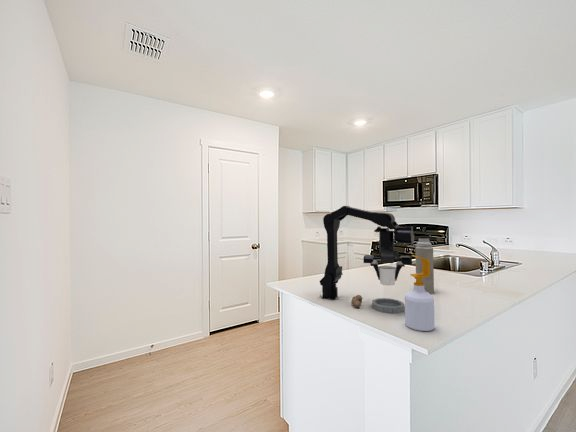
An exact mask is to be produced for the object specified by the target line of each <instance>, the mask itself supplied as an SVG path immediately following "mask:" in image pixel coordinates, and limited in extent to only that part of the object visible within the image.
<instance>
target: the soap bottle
mask: <svg viewBox="0 0 576 432" xmlns="http://www.w3.org/2000/svg"><path fill="white" fill-rule="evenodd" d="M411 257H414V258H416V257H417V258H420V259H421V260H422V273H420V274H416V273H410V276H411V277H413V278H414V279H415V281H414V282H413V289H411V290H409V291H408V292H407V293H406V294H405V295H404V312H405V313H404V315H405V325H406V326H407V327H408V328H410V329H412V330H415V331H420V332H430V331H434V330H435V327H436V326H435V299H434V296H433V294H429V293H428V292H426V291H425V290H424V283H422V279H423V277H429V276H430V261H429V260H428V259H425V258H422V257H418V256H416V254H415V255H414V254H411Z"/></svg>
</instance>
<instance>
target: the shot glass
mask: <svg viewBox="0 0 576 432" xmlns="http://www.w3.org/2000/svg"><path fill="white" fill-rule="evenodd" d="M378 268H379V276H380V280H379V283H380V285H383V286H394V285H395V282H396V281H395V271H396V266H392V265H390V266H389V265H380V266H378Z"/></svg>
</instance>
